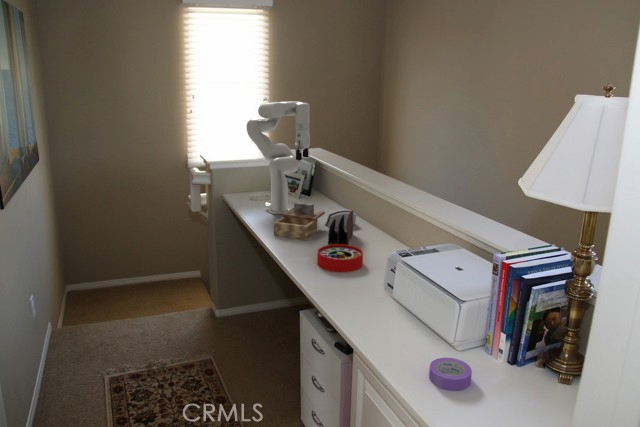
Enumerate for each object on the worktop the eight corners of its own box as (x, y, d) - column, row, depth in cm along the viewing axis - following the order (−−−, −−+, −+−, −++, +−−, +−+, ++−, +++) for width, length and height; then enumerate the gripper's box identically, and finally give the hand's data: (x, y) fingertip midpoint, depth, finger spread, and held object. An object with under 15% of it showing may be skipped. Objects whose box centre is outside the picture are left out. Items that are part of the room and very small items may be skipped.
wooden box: (273, 235, 282) (273, 222, 280) (285, 228, 295) (285, 215, 293) (307, 240, 276) (307, 226, 274) (317, 232, 289) (317, 219, 287)
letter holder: (352, 234, 287) (353, 208, 283) (348, 247, 268) (349, 218, 265) (333, 233, 289) (334, 206, 285) (327, 245, 270) (328, 217, 266)
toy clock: (371, 256, 239) (328, 262, 232) (370, 269, 241) (327, 275, 234) (351, 242, 257) (310, 247, 250) (350, 254, 259) (310, 259, 252)
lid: (282, 216, 290) (282, 205, 288) (293, 209, 303) (293, 198, 301) (315, 220, 284) (315, 208, 282) (324, 213, 297) (324, 202, 295)
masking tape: (421, 381, 159) (422, 369, 158) (440, 364, 168) (441, 352, 167) (459, 396, 152) (461, 384, 151) (477, 378, 161) (478, 366, 160)
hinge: (351, 221, 308) (355, 206, 303) (355, 226, 305) (358, 211, 299) (323, 224, 302) (326, 209, 296) (327, 230, 298) (330, 214, 293)
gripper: (302, 128, 287) (302, 161, 292) (314, 125, 303) (314, 156, 307) (289, 128, 289) (289, 160, 294) (302, 124, 305) (301, 155, 310)
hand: (302, 158), depth 301 cm, fingers open, 9 cm apart
